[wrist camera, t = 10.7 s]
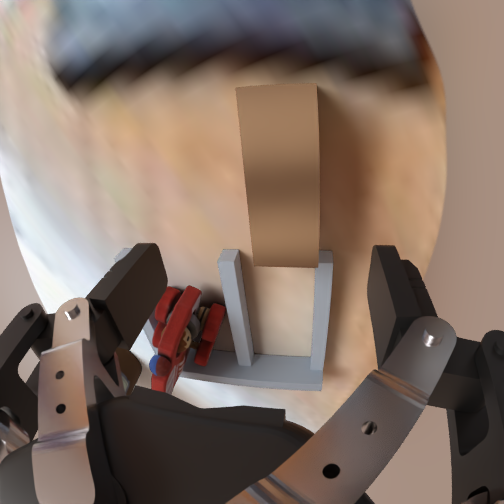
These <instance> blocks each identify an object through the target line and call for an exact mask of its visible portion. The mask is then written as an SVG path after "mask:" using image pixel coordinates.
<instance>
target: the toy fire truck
mask: <svg viewBox="0 0 504 504" xmlns="http://www.w3.org/2000/svg"><path fill="white" fill-rule="evenodd" d="M201 295H202V292H201V290H199V289H197V288H195V287H192V286H187V287H186V289H185V291H184V292H183V294H182V296H181V297H180V291H179V290H178V289H175V288H173V287H170V286H168V287H167V289H166V291H165V293H164V294H163V296H162V298H161V299H160V301H159V302H158V304H157V306H156V309H155V319H156V320H157V321H159V322H158V324H157V326H156V328H155V331H154V334H153V338H152V344H153V346H154V347H156V348H158V355H154V356H153V357H152V358H151V360H150V363H149V367H150V370H151V372H152V373H153V374H152V378H151V385H152V386H151V387H152V388H151V389H152V390H156V391H161V392H165V393H168V394H170V395H171V394H172V391H173V388H174V386H175V384H176V382H177V379H178V377H179V375H180V374H181V373H182V371H183V367H184V365H185V362H186V360H187V358H188V356H189V353H190V348H193V349H195V350H197V351H196V354H195V358H194V363H196V364H198V365H201V366H206V365H207V363H208V361H209V358H210V355H211V352H212V349H213V346H214V343H215V340H216V337H217V335H218V332H219V330H220V327H221V324H222V321H223V318H224V316H225V312H226V307H224V306H222V305H219V304H216V303H214V304H213V305H212V306H211V308H210V309H208V308H207V307H201V308H199V304H200V299H201ZM200 330H201V331H202V336H201V340H200V343H198V342H195V341H193V339H194V338H196V336H197V335H198V333H199V331H200Z"/></svg>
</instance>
